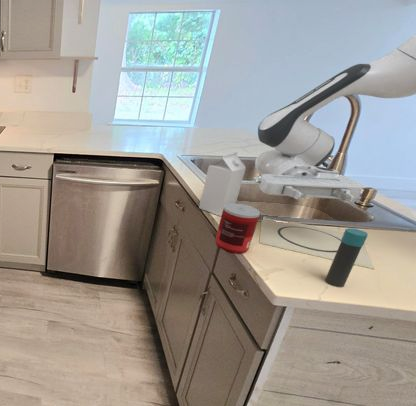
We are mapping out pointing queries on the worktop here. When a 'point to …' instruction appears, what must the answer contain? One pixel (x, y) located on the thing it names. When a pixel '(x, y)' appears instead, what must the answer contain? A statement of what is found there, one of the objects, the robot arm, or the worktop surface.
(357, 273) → the worktop surface
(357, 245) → the marker
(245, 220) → the canned food
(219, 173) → the milk carton
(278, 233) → the paper pad
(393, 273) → the worktop surface
